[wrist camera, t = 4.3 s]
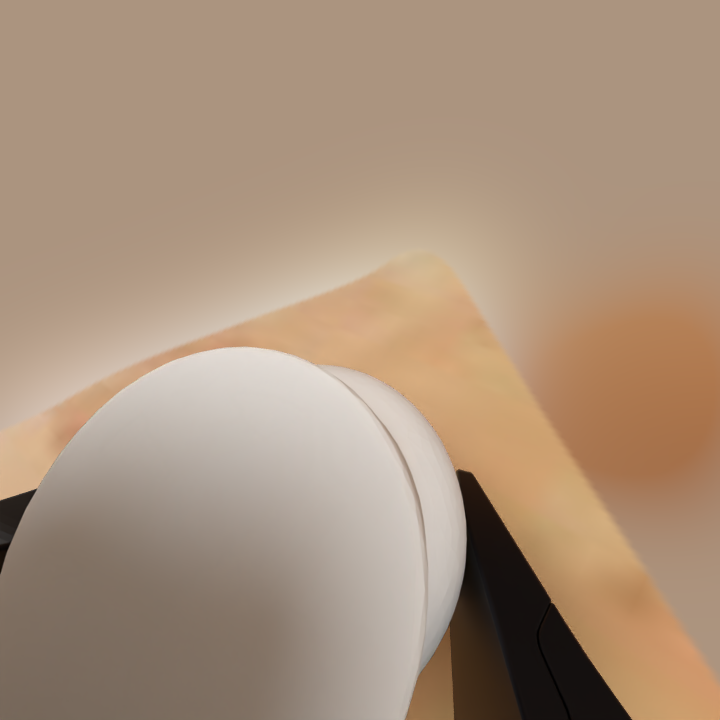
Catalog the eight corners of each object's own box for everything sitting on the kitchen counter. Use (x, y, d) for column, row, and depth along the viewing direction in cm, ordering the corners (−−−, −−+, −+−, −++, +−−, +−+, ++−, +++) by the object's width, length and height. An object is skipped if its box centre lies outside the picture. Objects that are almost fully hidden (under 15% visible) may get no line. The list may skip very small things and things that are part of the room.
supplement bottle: (275, 499, 15) (-188, 590, 3) (352, 399, 17) (217, 212, 5) (376, 603, 13) (58, 1992, 1) (456, 477, 14) (699, 493, 2)
